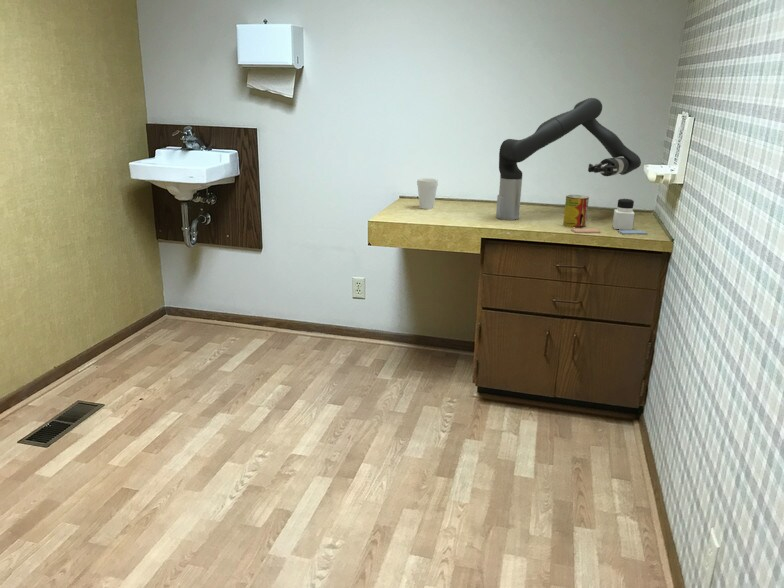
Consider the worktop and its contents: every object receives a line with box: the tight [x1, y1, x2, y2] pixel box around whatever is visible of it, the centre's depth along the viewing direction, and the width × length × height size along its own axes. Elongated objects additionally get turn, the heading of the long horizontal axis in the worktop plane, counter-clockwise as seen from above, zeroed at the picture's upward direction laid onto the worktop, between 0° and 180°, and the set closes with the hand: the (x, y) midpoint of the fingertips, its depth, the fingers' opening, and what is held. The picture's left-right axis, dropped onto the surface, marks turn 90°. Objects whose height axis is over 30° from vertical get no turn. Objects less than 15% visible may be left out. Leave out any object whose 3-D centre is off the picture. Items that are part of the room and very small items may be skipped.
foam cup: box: [416, 177, 439, 210], centre depth 295 cm, size 10×9×13 cm
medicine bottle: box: [612, 198, 636, 230], centre depth 260 cm, size 7×7×12 cm
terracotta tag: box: [570, 228, 601, 234], centre depth 254 cm, size 10×5×1 cm, turn 96°
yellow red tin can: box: [562, 194, 590, 229], centre depth 264 cm, size 9×9×12 cm
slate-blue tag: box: [617, 229, 649, 235], centre depth 253 cm, size 10×5×1 cm, turn 96°
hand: (592, 169), depth 266 cm, fingers closed
